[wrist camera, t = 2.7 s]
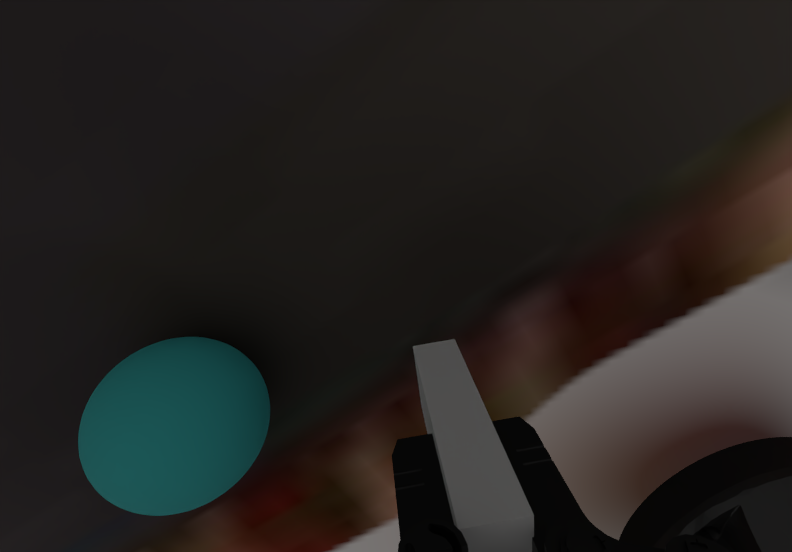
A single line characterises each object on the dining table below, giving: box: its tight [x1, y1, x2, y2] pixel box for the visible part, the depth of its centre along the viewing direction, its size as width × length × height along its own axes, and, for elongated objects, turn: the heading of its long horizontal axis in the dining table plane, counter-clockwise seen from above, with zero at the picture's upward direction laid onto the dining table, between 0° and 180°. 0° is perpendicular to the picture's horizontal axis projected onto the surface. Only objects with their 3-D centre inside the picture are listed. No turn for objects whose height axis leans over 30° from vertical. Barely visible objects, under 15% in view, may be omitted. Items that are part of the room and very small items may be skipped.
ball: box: [78, 337, 270, 516], centre depth 14 cm, size 6×6×6 cm
